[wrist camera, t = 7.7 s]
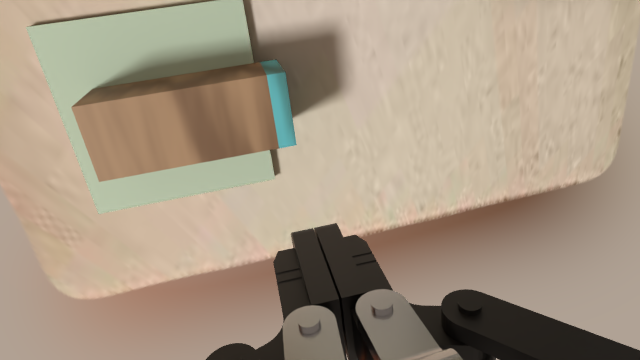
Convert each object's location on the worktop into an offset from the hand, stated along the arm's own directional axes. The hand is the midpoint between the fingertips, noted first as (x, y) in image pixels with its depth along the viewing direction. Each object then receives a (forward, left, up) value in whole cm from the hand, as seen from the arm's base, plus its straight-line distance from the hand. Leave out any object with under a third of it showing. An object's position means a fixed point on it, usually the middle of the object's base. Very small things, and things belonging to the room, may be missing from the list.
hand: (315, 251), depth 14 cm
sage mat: (+7, 0, -22) cm, 23 cm away
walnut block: (-2, 0, -19) cm, 19 cm away
